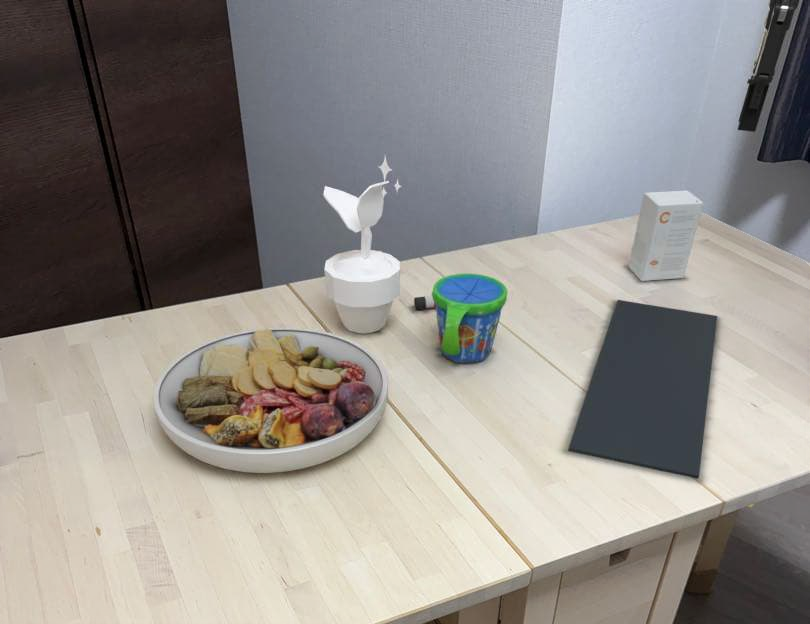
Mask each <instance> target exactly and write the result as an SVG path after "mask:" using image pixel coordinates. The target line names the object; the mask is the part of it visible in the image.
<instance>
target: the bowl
mask: <svg viewBox="0 0 810 624" xmlns="http://www.w3.org/2000/svg"><path fill="white" fill-rule="evenodd" d="M388 396H389V378H388V374H387V372H386V369H385V366H384V365H383V363H382V361H380V359H379V358H378V357H377V356H376V355H375V354H374V353H372V351H370V350H369V349H368V348H367V347H365V346H363V345H362V344H359V343H358V342H356V341H354V340H352V339H350V338H347V337H345V336H342V335H338V334H336V333H332V332H328V331H323V330H318V329H313V328H304V327H285V326H284V327H283V326H281V327H280V326H279V327H263V328H255V329H250V330H242V331H238V332H233V333H229V334H225V335H222V336H219V337H216V338H213V339H210V340H208V341H205V342H202V343H201V344H199V345H195V346H194V347H192V348H190V349H189V350H187V351H186V352H184V353H182V354H181V355H179V356H177V358H175V359H174V360H173V361H172V362H171V363H170V364H169V365H168V366H167V367H166V368H165V369H164V370H163V372H162V373H161V374H160V375H159V377H158V378H157V380H156V383H155V386H154V389H153V394H152V403H153V407H154V408H153V409H154V411H155V415H156V418H157V420H158V423H159V425H160V427H161V429H162V430H163V431H164V433H165V434H166V435H167V437H168V438H169V439H170V441H172V443H174V444H175V445H176V446H177V447H178V448H179V449H181V451H183V452H185V453H186V454H188V455H190V456H191V457H193V458H195V459H197V460H199V461H201V462H203V463H205V464H209V465H211V466H214V467H217V468H221V469H224V470H225V469H226V470H231V471H235V472H241V473H242V472H243V473H254V474H255V473H256V474H268V473H269V474H275V473H285V472H291V471H297V470H302V469H307V468H311V467H314V466H317V465H321V464H324V463H326V462H329V461H331V460H333V459H336V458H337V457H340V456H342V455H344V454H345V453H347V452H349V451H350V450H352V449H353V448H354V447H356V446H357V445H359V444H360V443H361V442H363V440H365V438H367V437H368V436H369V435H370V434H371V433H372V431H374V429H375V428H376V426H377V425H378V423H379V422H380V420H381V418H382V416H383V414H384V412H385V409H386V407H387V403H388Z"/></svg>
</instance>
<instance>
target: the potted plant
mask: <svg viewBox="0 0 810 624" xmlns="http://www.w3.org/2000/svg"><path fill="white" fill-rule="evenodd" d="M386 155H387V154H384V158H383V162H382V164H381V165H379V166H378V168H379V169H380V170H381V172H382V176H383V181H381V182H377V183H374V184H371V185H369V186H368V187H367V188H366V189H365V190H364V191H363V192H362V194H361V195H359V196H358V197H357V196H355V195H352V194H351V193H348V192H346V191H343V190H341V189H337V188H333V187H330V186H327V185H324V188H323V189H324V190H323V198H324V199H325V200H326V202H327V203H328V204H329V205H330V206H331V207H332V208H333V209H334V211H336V213H337V215H339V217H340V219H341V220H342V222H343V223H344V225H345V227H346V228H347V229H348V230H350V231H351V232H353V233H354V234H357V233H359V232H360V234H361V235H360V238H361V241H360V249H353V250H348V251H343V252H339V253H336V254H334V255H332V256H331V257H330V258H328V259H326V260H325V264H324V268H323V269H324V270H323V271H324V286H325V295H326V296H327V297H328V298H329V299H331V301H333V303H334V305H335V308H336V310H337V313H338V315H339V317H340V320H341V323H342V325H343V326H344V328H346V329H347V330H348V331H350V332H353V333H356V334H372V333H375V332H378V331H380V330H381V329H383V328H384V327H385V325H386V323H387V319H388V317H389V313H390V311H391V308H392V304H393V301H394V300H396V299H397V298H398V297H399V296H400V295H401V289H400V288H401V283H400V282H401V261H400V260H398V259H397V258H396V257H394V256H393V255H392V254H390V253H386V252H384V251H383V252H382V250H374V249H371V248H372V239H373V233H372V231H371V228H372V227H373V226H375V225H377V223H378V222H379V220H380V219H381V217H382V216H383V210H384V205H385V204H384V202H385V201H384V199H385V196H386V195H387V194H388V193H389V192H387V191H386V189H385V185H387V184H389V183H390V181H389V180H386V179H387V174H388V173H389V172H390V171H391V172H392V171H393V169H392V168H390V167H389V165H388V161H387V156H386ZM393 186H394V188H395V190H396V193H398V191H399V189H400V188H402V187H403V186H402V185H400V183H399V179H398V178H397V180H396V182H395V184H393Z"/></svg>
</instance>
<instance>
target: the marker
mask: <svg viewBox="0 0 810 624" xmlns="http://www.w3.org/2000/svg"><path fill="white" fill-rule="evenodd" d="M413 304H414V305H413V306H414V309H415V310H418V311H419V310H428V309H436V305H435V302H434V300H433V298H432V295H424V296H417V297H414V299H413Z"/></svg>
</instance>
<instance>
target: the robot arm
mask: <svg viewBox="0 0 810 624" xmlns="http://www.w3.org/2000/svg"><path fill="white" fill-rule="evenodd" d="M799 4H800V0H768V8H767V9H768V10H767V13H766V16H765V19H764V30H763V31H764V32H763V33H762V34H763V35H762V38H761V40H760V41H761V42H760V45H759V49H758V51H757V56H756V59H755V61H754V63H753V69H752V75H751V77H750V78H748V79H747V82H746V84H747V85H748V86H747V90H746V94H745V97H744V100H743V104H742V108H741V112H740V114H739V118H738V126H737V131H744V132H752V133H753V132H756V130H757V128H758V124H759V121H760V118H761V113H762V111H763V108H764V104H765V101H766V97H767V95H768V91H769V89H770V84H771V83H772V81H773V79H774V76H775V73H776V66H777V64H778V60H779V57H780V54H781V50H782V47H783V44H784V41H785V37H786V34H787V32H788V31H789V30H790V27H791V24H792V20H793V18H794V14H795V11H796V10H797V9H798V7H799Z"/></svg>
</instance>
